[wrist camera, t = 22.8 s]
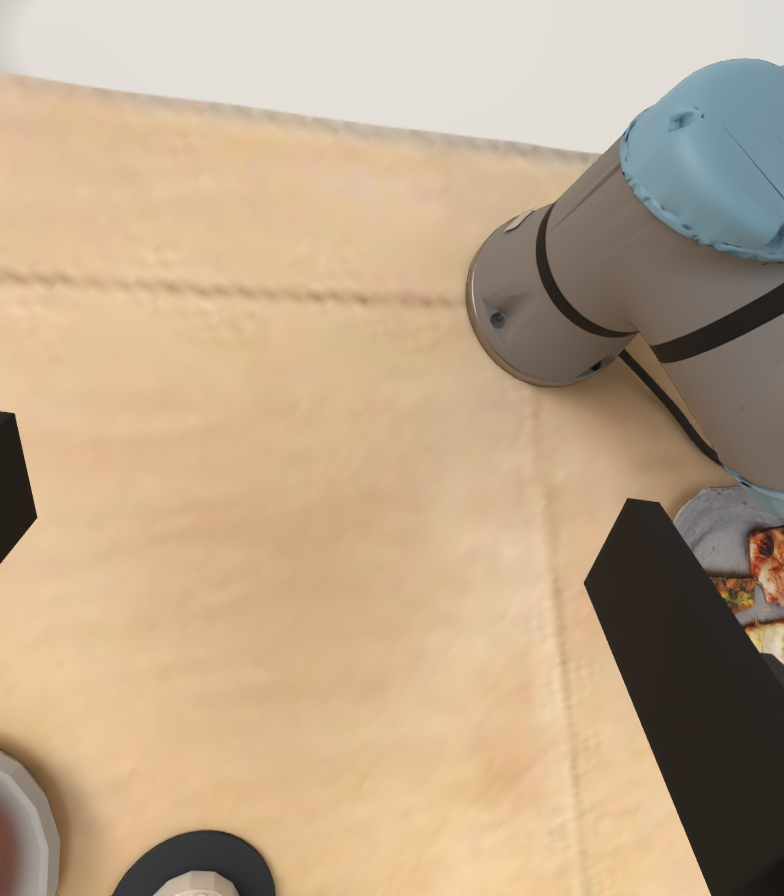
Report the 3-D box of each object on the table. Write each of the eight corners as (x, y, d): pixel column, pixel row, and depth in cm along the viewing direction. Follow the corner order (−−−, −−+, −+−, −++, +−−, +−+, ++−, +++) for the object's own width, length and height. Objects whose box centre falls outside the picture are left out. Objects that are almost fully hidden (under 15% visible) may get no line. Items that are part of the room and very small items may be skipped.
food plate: (833, 482, 56) (871, 480, 53) (863, 721, 54) (904, 735, 50) (623, 490, 50) (651, 489, 46) (647, 764, 47) (678, 783, 44)
